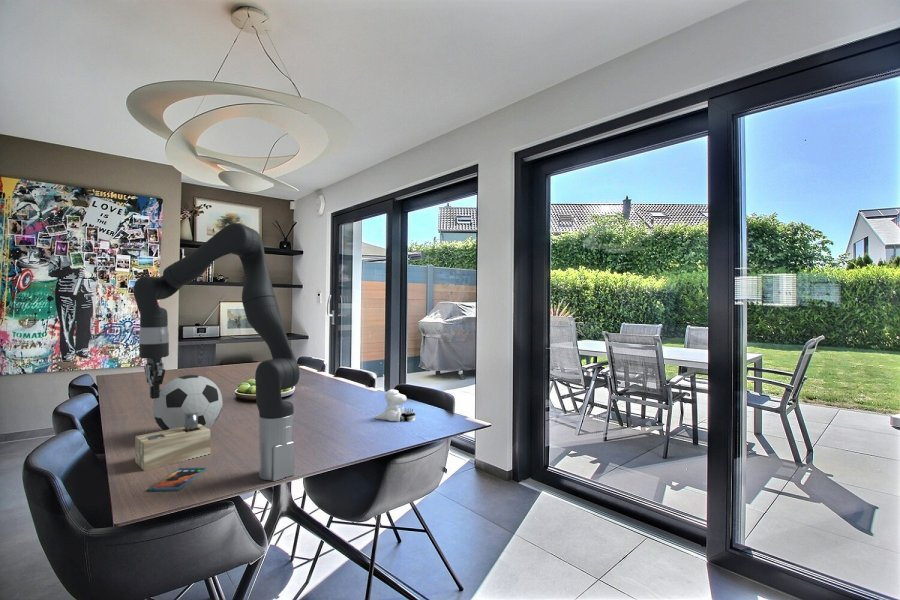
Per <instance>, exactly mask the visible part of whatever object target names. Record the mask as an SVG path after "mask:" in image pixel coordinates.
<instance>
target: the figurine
mask: <svg viewBox="0 0 900 600" xmlns="http://www.w3.org/2000/svg"><path fill="white" fill-rule="evenodd" d="M384 399H385V402H386V403H387V404H386V407H385V409H384V411H383V412H381V413H378V414H376V415H375V416H373V419H376V420H383V421H384V420H385V421H389V422H401V421H402V422H404V423H405V422H407V423H408V422H410V423H411V422H414V421H416V415H417V414H416V413H415V412H414V409H413V408H412V409H411V407H410V408H409V407H408V408H406V409H405V406H402V405H403V404H405V403H406V402H407V395H405V394H402V393H400V392H399V390H397V389H388V390H387V391H386V392H385V394H384ZM400 405H401V407H400Z"/></svg>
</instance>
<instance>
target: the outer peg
mask: <svg viewBox="0 0 900 600" xmlns="http://www.w3.org/2000/svg"><path fill="white" fill-rule="evenodd" d="M161 437H162V435H155V436H151V437H149V438H148V440H151V439H156V438H161Z"/></svg>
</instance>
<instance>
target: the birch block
mask: <svg viewBox="0 0 900 600" xmlns="http://www.w3.org/2000/svg"><path fill="white" fill-rule="evenodd" d="M155 435H162V437H161V438H156V439H151V440H148V438H149V437H151V436H155ZM134 438H135V439H134V440H135V443H134V444H135V446H134V448H135V454H134V455H135V463H136V465H138V467H140V468H141V469H142V470H143V471H146V472H147V471H149V470H154V469H157V468H162V467H165V466H169V465H173V464H176V463H177V462H178V463H181V461H182V462H184V461H185V460H186V461H189V460H188V459H190V460H193V459H192V458H194V459H196V457H198V458H201V457H200V456H202V457H205V456H204V455H206V456H209V455H208V454H210V455H211V429H210V428H206V427H205V426H203V425H201V424H198V430H195V431H190V432H185V427H180V428H175V429H170V430H165V431H164V430H160V431H155V432H151V433H145V434H140V435H139V434H138V435H135V437H134ZM186 461H185V462H186ZM178 463H177V464H178ZM153 468H154V469H153Z"/></svg>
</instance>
